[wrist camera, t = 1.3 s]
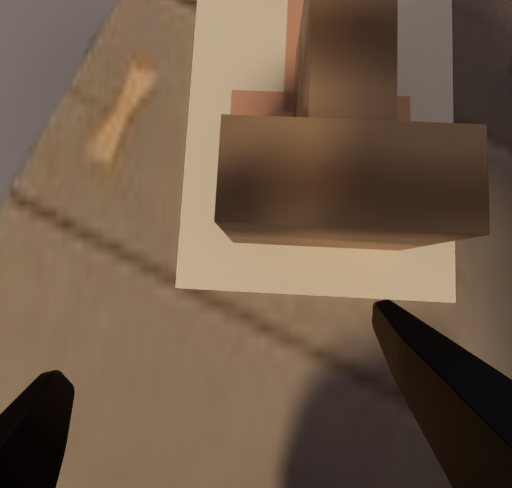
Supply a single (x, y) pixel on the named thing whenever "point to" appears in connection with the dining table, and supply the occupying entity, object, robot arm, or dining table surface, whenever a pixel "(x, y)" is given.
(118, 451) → the dining table surface
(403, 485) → the dining table surface
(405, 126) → the t block
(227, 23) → the mat
